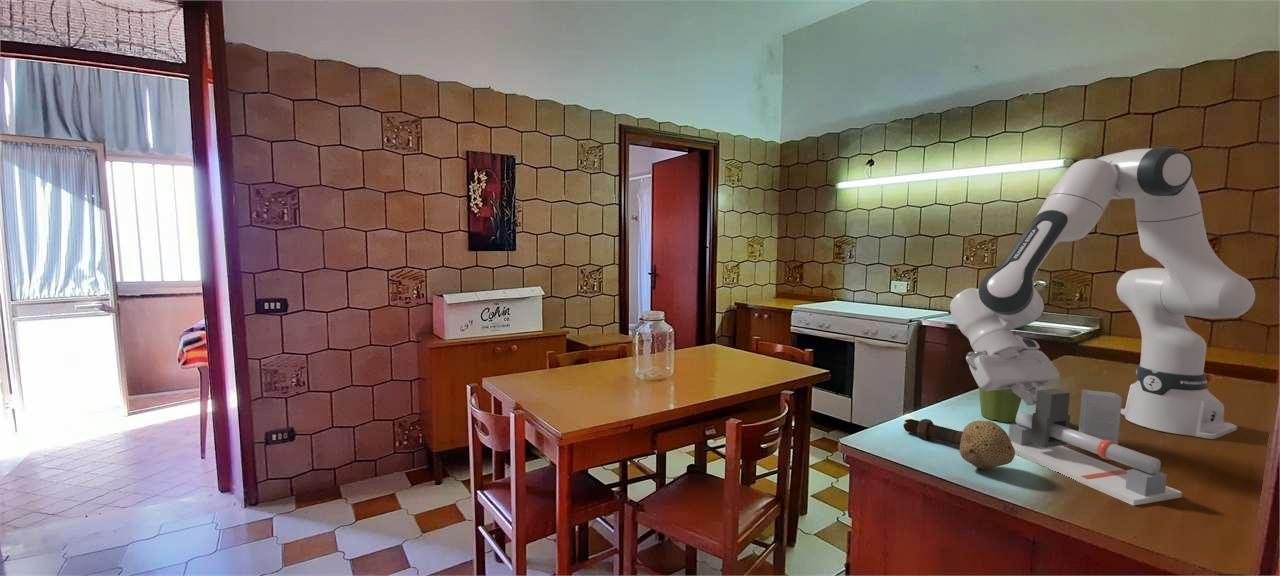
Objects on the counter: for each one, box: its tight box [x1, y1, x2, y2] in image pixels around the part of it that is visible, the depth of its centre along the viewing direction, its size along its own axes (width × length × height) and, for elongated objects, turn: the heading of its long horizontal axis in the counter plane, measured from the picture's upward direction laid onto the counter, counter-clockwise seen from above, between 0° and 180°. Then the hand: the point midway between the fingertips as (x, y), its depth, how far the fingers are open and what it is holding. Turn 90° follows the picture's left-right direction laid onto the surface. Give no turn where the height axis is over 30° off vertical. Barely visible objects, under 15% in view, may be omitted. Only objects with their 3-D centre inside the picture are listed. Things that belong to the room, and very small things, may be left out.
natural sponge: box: [959, 420, 1016, 471], centre depth 104 cm, size 9×9×10 cm
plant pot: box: [978, 386, 1023, 423], centre depth 134 cm, size 12×12×11 cm
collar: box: [1030, 388, 1071, 448], centre depth 111 cm, size 3×6×11 cm, turn 105°
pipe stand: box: [1008, 411, 1183, 506], centre depth 105 cm, size 27×12×8 cm, turn 15°
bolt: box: [903, 418, 963, 448], centre depth 119 cm, size 6×5×15 cm
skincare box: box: [1078, 389, 1123, 445], centre depth 117 cm, size 6×4×12 cm
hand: (1035, 404), depth 114 cm, fingers closed
